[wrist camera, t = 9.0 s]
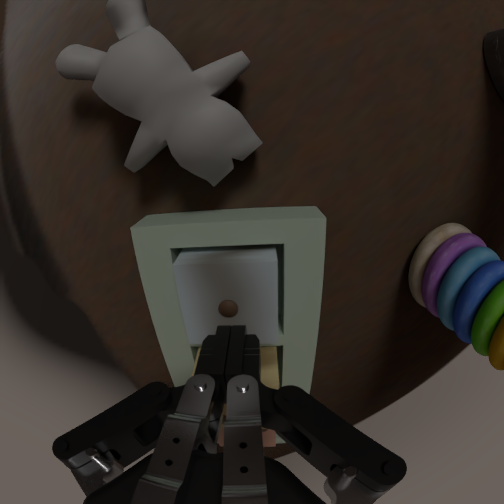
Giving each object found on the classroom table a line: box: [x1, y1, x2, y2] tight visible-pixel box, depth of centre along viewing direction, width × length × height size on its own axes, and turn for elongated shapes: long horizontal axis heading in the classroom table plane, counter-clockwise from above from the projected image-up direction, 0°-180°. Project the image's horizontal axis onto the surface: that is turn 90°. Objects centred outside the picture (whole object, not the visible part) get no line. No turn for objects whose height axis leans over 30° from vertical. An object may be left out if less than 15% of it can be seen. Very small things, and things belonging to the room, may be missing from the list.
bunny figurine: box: [56, 0, 263, 187], centre depth 13 cm, size 10×5×15 cm
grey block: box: [173, 244, 278, 344], centre depth 18 cm, size 6×6×4 cm
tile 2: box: [191, 346, 279, 429], centre depth 19 cm, size 6×6×4 cm
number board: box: [130, 206, 326, 443], centre depth 22 cm, size 12×26×3 cm, turn 3°
